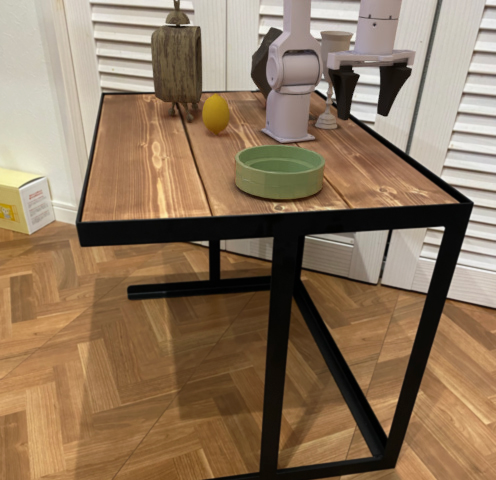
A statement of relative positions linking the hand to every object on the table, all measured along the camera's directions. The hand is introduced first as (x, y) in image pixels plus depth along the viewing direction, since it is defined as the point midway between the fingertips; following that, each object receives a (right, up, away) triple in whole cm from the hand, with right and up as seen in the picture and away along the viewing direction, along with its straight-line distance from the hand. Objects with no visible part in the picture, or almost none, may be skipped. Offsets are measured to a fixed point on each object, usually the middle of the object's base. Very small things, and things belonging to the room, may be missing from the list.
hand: (362, 117), depth 81 cm
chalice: (-1, +11, +32) cm, 34 cm away
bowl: (-13, -10, +2) cm, 17 cm away
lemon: (-25, +6, +24) cm, 35 cm away
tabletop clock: (-34, +15, +36) cm, 51 cm away
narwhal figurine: (-11, +19, +42) cm, 47 cm away
